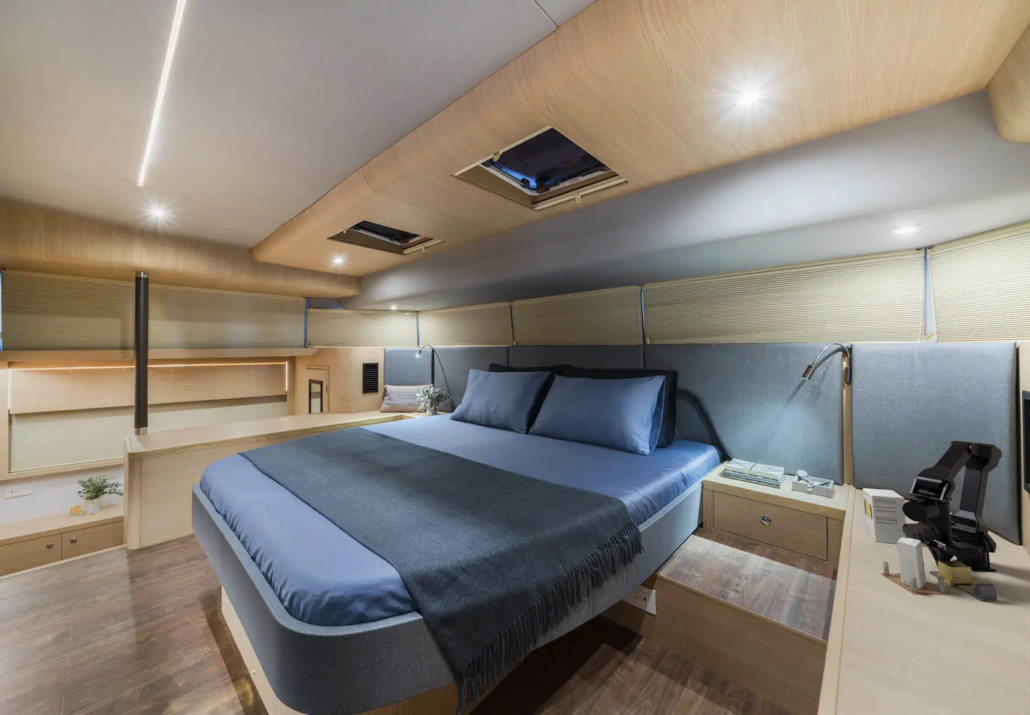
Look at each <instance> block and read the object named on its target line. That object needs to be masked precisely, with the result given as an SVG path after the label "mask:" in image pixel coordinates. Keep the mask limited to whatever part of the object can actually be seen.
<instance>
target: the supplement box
mask: <svg viewBox="0 0 1030 715" xmlns="http://www.w3.org/2000/svg"><path fill="white" fill-rule="evenodd" d="M862 496H863V508H864V510H863V511H864V520H865V521H864V522H865V524H864V525H865V532H866V533H867V534H868V536H870V538H871V539H872V540H873V541H874V542H876V543H883V544H884V543H886V544H894V545H897V541H899V539H900V538H902V537H906V535H905V533H904V532H903V529H902V526H903V525H904V524H907V520H906V519H907V518H906V517H907V516H906V515H905V514H904V512H903V510H902V507H903V505H904V503H906V502H905V497H903V496H901V495H900V494H898V493H897V492H896V491H895V490H893V489H881V488H880V489H879V488H878V489H877V488H862Z"/></svg>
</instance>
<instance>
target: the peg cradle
mask: <svg viewBox="0 0 1030 715" xmlns="http://www.w3.org/2000/svg"><path fill="white" fill-rule="evenodd" d="M882 565H883V566H882V568H883V573H880V574H881V575H882V576H883V577H885V578H886V579H889V580H890V581H892V582H893V583H895V584H897V585H898V586H900V587H901V588H903V589H904V590H906V591H908V592H909V593H911V594H912V595H950V594H949V592H947V591H946V586H945V585H946V584H945V583H944V578H942V577H938V579H937V583H938V584H937V585H938V586H936V585H935V584H932V583H931V582H929V581H927V580H926V584H925V585H924V586H923V587H922V588H921V589H919V588H917V583H916V578H914V577H910V582H911V586H909V585H906V584H903V583H902V582H901V575H900V573H891V572H890V568H889V567H890V566H889V562H888V561H882Z"/></svg>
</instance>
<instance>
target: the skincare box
mask: <svg viewBox="0 0 1030 715" xmlns="http://www.w3.org/2000/svg"><path fill="white" fill-rule="evenodd" d="M922 545H923V544H922V543H921V541H920V540H916V539H911V538H907V537H902V538H900V539H899V541H897V544H896V546H897V553H898V554H897V555H898V564H899V572H900V575H901V582H902V583H903V584H906V585H909V586H911V582H910V577H914V578H916V583H917V588H919V589H921V588H922V587H923V586H924V585H925V584H926V581H927V579H926V570H925V562H924V552H923V546H922Z"/></svg>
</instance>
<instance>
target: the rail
mask: <svg viewBox="0 0 1030 715" xmlns="http://www.w3.org/2000/svg"><path fill="white" fill-rule="evenodd" d="M937 572H939V570H930V571H929V575H931V574H932V575H931V576H933V577H935V578H937ZM953 588H956V589H957V590H959V591H961V592H964V593H965V594H966V595H969V596H971V597H973V598H974V599H976V600H978V601H980V602H998V595H997V594H998V592H997V591H998V590H997V585H995V584H992V583H975V587H974V586H972V585H970V584H969V583H954V587H953Z"/></svg>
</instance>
